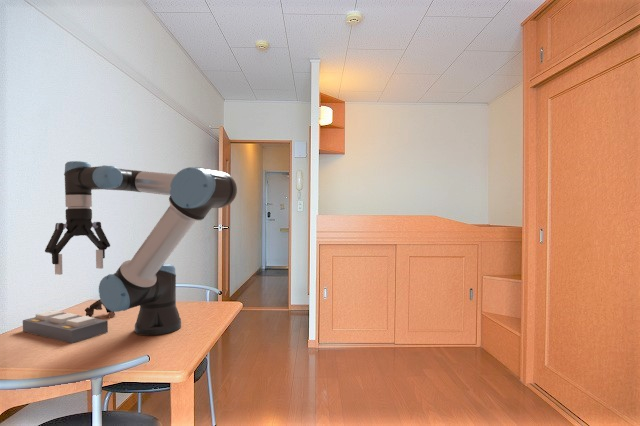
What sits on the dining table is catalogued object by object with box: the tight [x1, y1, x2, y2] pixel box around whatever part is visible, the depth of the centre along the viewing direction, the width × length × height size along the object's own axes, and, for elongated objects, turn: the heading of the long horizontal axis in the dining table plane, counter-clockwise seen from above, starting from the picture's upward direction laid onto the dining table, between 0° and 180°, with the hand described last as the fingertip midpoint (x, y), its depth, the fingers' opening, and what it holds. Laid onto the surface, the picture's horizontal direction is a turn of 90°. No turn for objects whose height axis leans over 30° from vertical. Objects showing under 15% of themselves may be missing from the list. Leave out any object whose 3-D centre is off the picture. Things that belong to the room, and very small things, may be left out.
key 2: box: [66, 315, 96, 327], centre depth 128 cm, size 6×6×3 cm
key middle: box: [50, 312, 80, 324], centre depth 132 cm, size 6×6×3 cm
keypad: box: [22, 312, 109, 344], centre depth 132 cm, size 28×12×4 cm, turn 64°
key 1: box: [35, 310, 65, 321], centre depth 136 cm, size 6×6×3 cm
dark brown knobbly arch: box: [84, 298, 116, 319], centre depth 151 cm, size 12×10×8 cm
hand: (80, 271), depth 128 cm, fingers open, 13 cm apart
